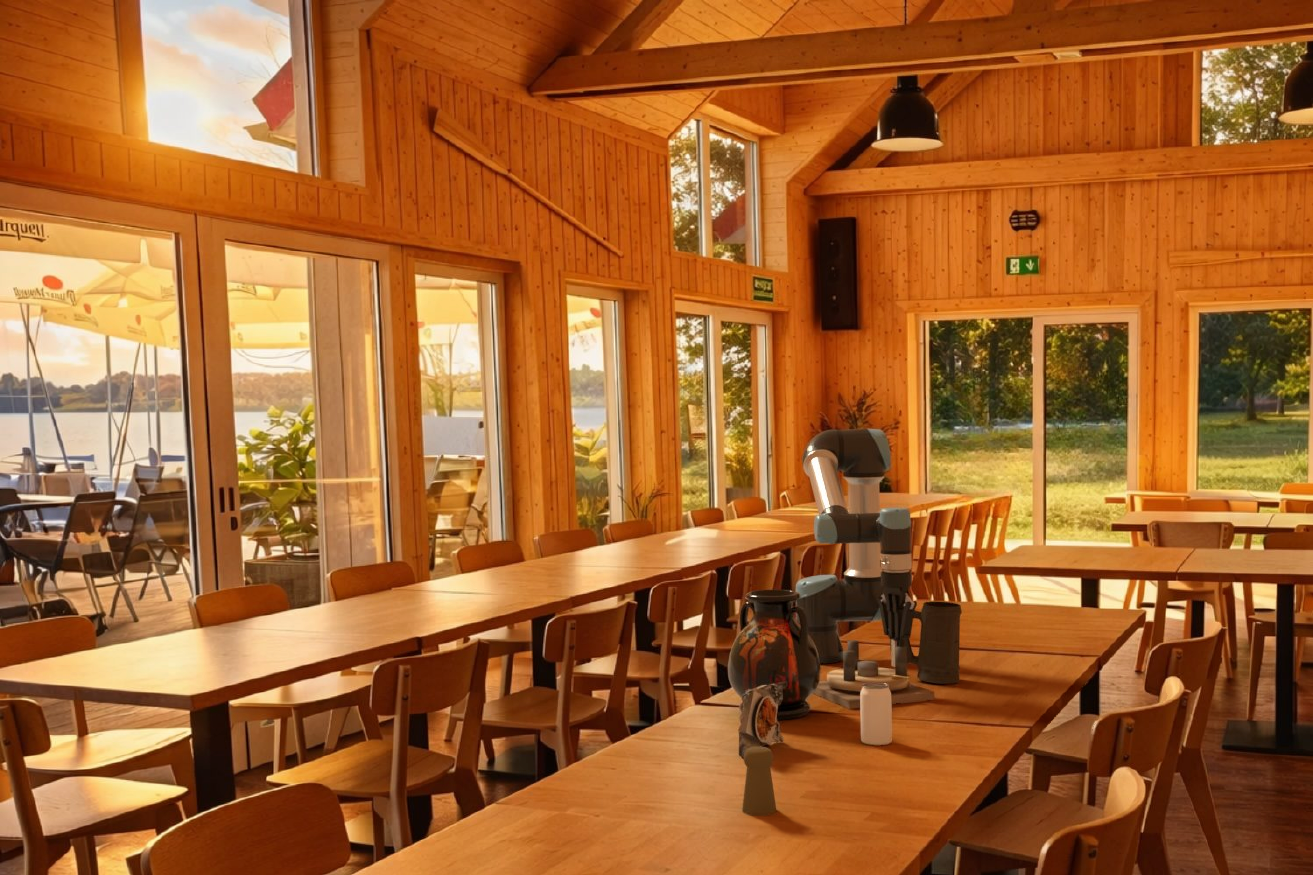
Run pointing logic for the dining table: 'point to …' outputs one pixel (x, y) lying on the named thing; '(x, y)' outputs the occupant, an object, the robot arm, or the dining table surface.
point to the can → (876, 714)
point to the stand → (853, 697)
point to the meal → (760, 717)
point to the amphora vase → (775, 651)
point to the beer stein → (937, 643)
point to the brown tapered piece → (758, 782)
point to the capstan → (869, 671)
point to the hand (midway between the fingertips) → (897, 665)
